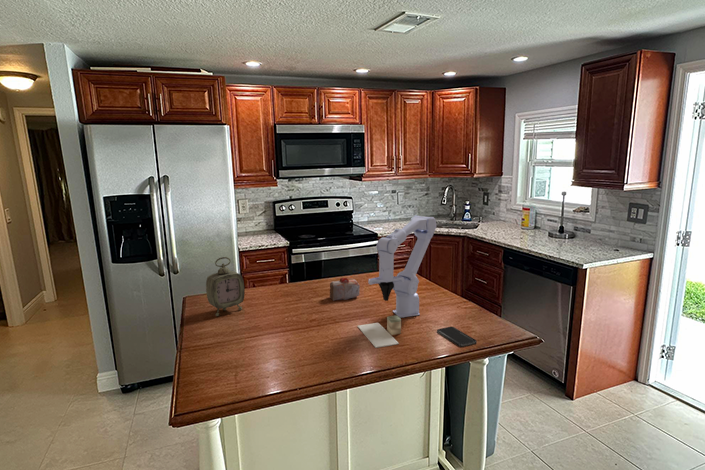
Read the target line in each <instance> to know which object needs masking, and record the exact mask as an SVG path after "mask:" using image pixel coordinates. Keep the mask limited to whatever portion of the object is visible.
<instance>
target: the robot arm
mask: <svg viewBox="0 0 705 470" xmlns="http://www.w3.org/2000/svg"><path fill="white" fill-rule="evenodd" d="M436 229H437V220H436V218H435V217H434V216H424V215H417V214H415V215H413V216H412V217H411V218H410V221H409V222H408V223H407V224H405V225H404V226H403V227H402V228H395V229H393V232H391V233H390V234H387V235H386V236H385V237H381V238H379V239H378V240H377V242H376V250H377V254H378V257H379V258H378V259H379V263H378V265H379V267H378V270H379V271H378V275H379V276H377V277H372V278H368V282H367V283H368V285H369V286H371V285H376V284H378V286H379V289H380V290H381V293H382V298H383V301H386V302H388V301H389V299H390V295H391V293H392V290H393V291H394V294H395V305H396V306H395V309H393V310H392V312H393V313H394V315H397V316H398V317H399V318H408V317H415V316H420V297H419V294H418V293H417V291H418V286H419V283H420V280H419V278H418V277H417V273H418V271H419V267H420V266H421V263H422V261H423V258H424V257H425V254H426V251H427V249H428V246H429V244H430V242H431V239H432V238H433V237H434V234H435V231H436ZM412 233H413V234H414V236H415V237H416V239H417V240H416V241H415V244H414V246H413V249H412V250H411V254H410V256H409V257H408V260H407V263H406V265H405V267H404V270H402V271H400V272H398V273H397V275H395V276H394V270H395V269H394V268H395V267H394V261H395V253H396V252H397V250H398V247H400V245H401V244H403V243H404V242H405V241H406V240H407V236H409V235H411V234H412Z"/></svg>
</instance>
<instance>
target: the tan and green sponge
mask: <svg viewBox="0 0 705 470" xmlns="http://www.w3.org/2000/svg"><path fill="white" fill-rule="evenodd" d="M386 324H387V325H386V331H387V332H388V333H389V334H390V335H391V336H396V335H401V334H402V319H401V318H400V317H399V316H397V315H396V314H394V315H391V316H390V315H389V316H387V317H386Z"/></svg>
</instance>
